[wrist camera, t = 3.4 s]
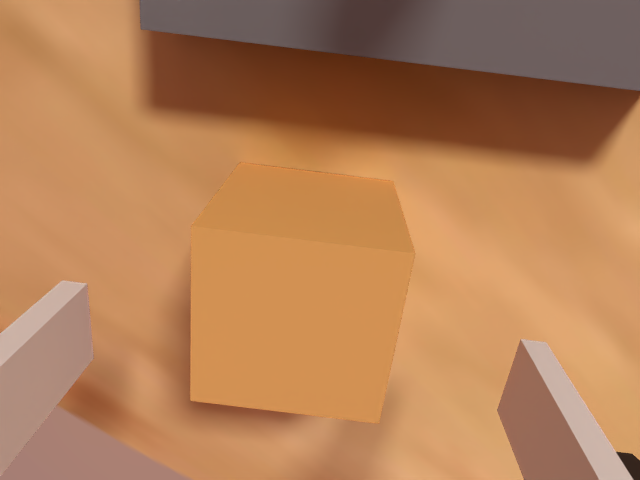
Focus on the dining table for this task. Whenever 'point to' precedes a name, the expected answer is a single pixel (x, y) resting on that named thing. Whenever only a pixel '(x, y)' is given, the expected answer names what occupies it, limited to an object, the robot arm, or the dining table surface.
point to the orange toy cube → (298, 292)
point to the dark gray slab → (432, 32)
